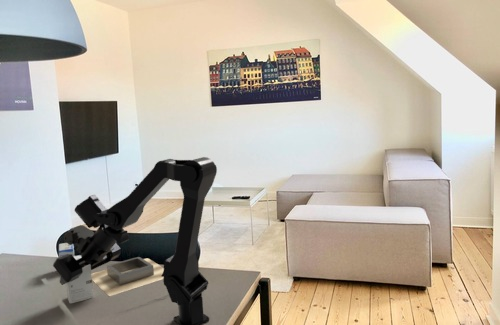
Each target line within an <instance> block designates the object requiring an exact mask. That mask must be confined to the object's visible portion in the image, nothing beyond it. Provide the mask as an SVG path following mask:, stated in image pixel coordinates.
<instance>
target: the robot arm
mask: <svg viewBox="0 0 500 325" xmlns="http://www.w3.org/2000/svg"><path fill="white" fill-rule="evenodd" d="M217 170H218V168H217V165H216V164H215V162H214V161H213V160H212V159H211V158H209V157H206V156H203V157H199V158H198V157H197V158H195V159H174V158H167V159H163V160H158V161H157V162H156V163H155V164H154V167H152V169H151V170H150V171H149V173H147V175H146V176H145V177H144V178H143V179H141V181H140V182H139V183H138V185H136V187H134V189H133V190H132V191H131V193H129V195H128V196H126V197H125V198H123V199H122V200H120V201H118V202H117V203H115V204H113V205H112V206H110V207H109V208H107V207H106V206H105V205H104V204H103V203H102V202H101V201H100V199H99V197H98V196H97V195H96V194H92V195H89V196H88V197H87V198H86V199H84V200H83V201H81V202H80V203H79V204H77V205H76V206H75V208H74V212H75V213H76V215H77V216H78V217H79V219H80V220H81V221H82V222H83V223H84V224H85V225H86V226H85V225H81V224H80V225H77V226H74V227H71V228H69V229H68V230H66V233H64V235H63V241H64V243H68V244H69V245H72V244H73V246H75V247H77V248H76V251H77V253H78V254H80V255H81V257H82V258H80V259H78V260H76V259H75V258H74V257H73V256H72V255H71V254H67V255H64V256H62V257H60V258H59V257H58V258H56V260H55V261H53V265H52V267H53V268H54V269H55V270H56V272H57V273H58V275H60V278H59V283H60V284H61V285H62V286H63V285H66V283H68V282H71V281H73V280H75V279H77V278H79V276H80V275H81V274H82V273H83V271H82V268H83V267H85V266H87V265H89V264H90V265H91V271H92V270H95V269H97V268H99V267H101V266H104V265H106V264H107V263H110V262H111V261H114V260H115V259H117V258H119V256H120V255H121V254H122V248H121V247H120V246H119V245H121V244H124V243H126V242H127V241H129V240H130V236H129V234H128V230H124V228H127V227H129V226H132V225H134V224H136V223H137V222H138V220H139V219H140V218H141V216H142V214H143V212H144V208H145V206H146V205H147V203H148V202H149V201H150V200H151V199H152V198H153V197H154V196H155V195H156V194H157V193H158V192H159V190H161V189H162V188H163V187H164V186H165V184H167V182H168V181H170V180H172V181H174V182H179V186H180V188H181V192H182V195H183V200H182V207H181V212H180V213H181V214H180V219H179V220H180V221H179V227H178V233H177V238H176V244H175V251H174V254H173V255H171V256H169V257H168V258H166V259H165V260H164V262H163V268H164V271H163V274H162V275H161V276H162V277H164V278H163V279H162V280H163V285H164V286H165V288H166V291H167V294H168V295H169V298H170V300H171V302H172V303H176V304H177V306H178V315H176V316H173V319H172V320H173V321H174V322H175V323H177V324H178V325H202V324H204V323H205V322H208V321H210V317H209V316H208V315H206V314H205V313H204V305H203V304H204V302H203V300H204V299H203V292H204V291H206V290H207V289H208V287H209V286H208V285H209V281H208V280H207V279H206V277H205V276H204V275H203V274H202V273H201V272H200V271H199V270H200V269H199V266H200V265H199V260H198V258H197V255H196V253H197V252H196V250H197V247H198V245H197V244H198V239H199V235H200V227H201V223H202V217H203V210H204V205H205V200H206V197H207V195H208V193H209V191H210V190H211V188H212V187H213V184H214V181H215V178H216V175H217V172H218V171H217ZM91 228H94V229H96V230H95V232H94V231H93V230H92V229H91Z"/></svg>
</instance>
